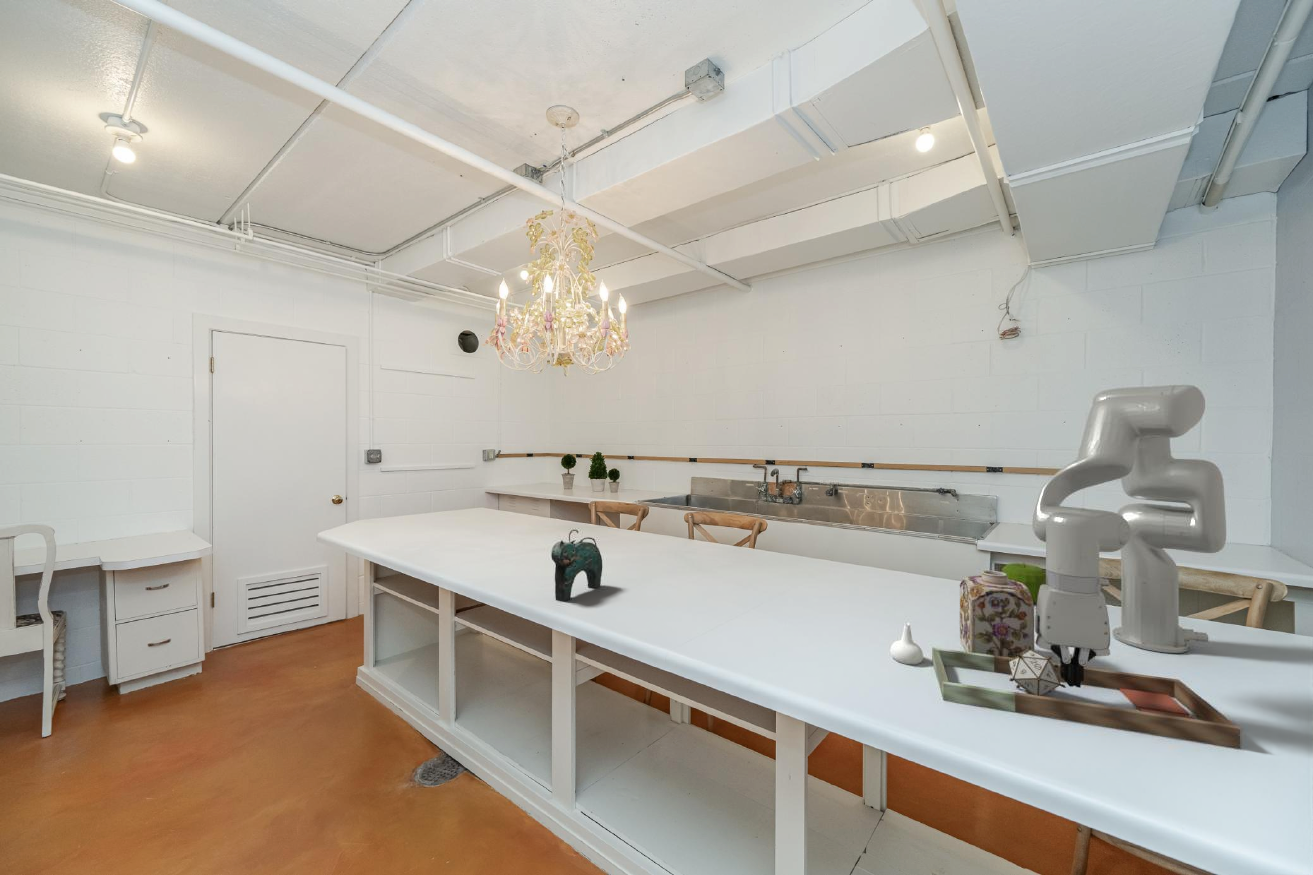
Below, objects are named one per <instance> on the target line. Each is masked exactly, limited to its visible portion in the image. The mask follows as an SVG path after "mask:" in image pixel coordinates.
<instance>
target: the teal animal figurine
mask: <svg viewBox="0 0 1313 875" xmlns="http://www.w3.org/2000/svg"><path fill="white" fill-rule="evenodd" d="M572 532H576V533H577V534H579V530H578V529H571V530H570V531H569V533H568V541H569V542H566V541H563V539H561V540H560V541H558V542H555V544H554V545H553V546H552V548H551V553H550V554H551V560H552V561H553V562H554V564H555V565H554V566H555V568H554V569H555V570H554V583H555V584H554V585H555V586H554V587H555V588H554V595H555V600H556V601H558V602H563V603H565V602H567V601H570V600H571V596H572V588H573V584H574V583H575V578H576V577H577V576H578V575H579V573H581V572H584V573H585V575H586V580H587V588H589V589H599V588H600V587H601V585H602V584H601V582H602V574H603V557H602V554H601V551H600V549H599V548H598V546H597V542H596V539H595V538H593V537H589V536H588V537H584V538H582V539H581V540H579V541H576V540H575V539H574V540H571V534H572ZM585 540H592V541H593V542H594V543H593V542H589V541H585Z"/></svg>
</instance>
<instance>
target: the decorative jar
mask: <svg viewBox="0 0 1313 875" xmlns="http://www.w3.org/2000/svg"><path fill="white" fill-rule="evenodd" d="M959 640H960V643H961V644H962V647H963V649H964V650H965V651H964V652H971V653H979V654H987V655H994V656H1002V657H1010V658H1015V657H1017V653H1019V654H1022V653H1024V652H1026V651H1027V650H1029V649H1028V646H1030V647H1031V650H1032V651H1034V652H1035V603H1033V598H1032V597H1031V595H1030V591H1029V589H1028V588H1027V587H1026V586H1025V585H1024V584H1023V583H1020V582H1017V581H1014V580H1010V579H1007V574H1005V573H1002V571H997V570H982V571H981V575H969V576H966V577H963V578H962V580H961V581H960V583H959Z"/></svg>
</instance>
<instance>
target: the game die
mask: <svg viewBox="0 0 1313 875" xmlns="http://www.w3.org/2000/svg"><path fill="white" fill-rule="evenodd" d="M1028 649H1029V650H1027V651H1026V652H1024V653H1022V654H1019V653H1017V657H1015V658H1013V659H1012V660H1010V661H1009V660H1007V659H1004V660H1005V662H1009V665H1010V669H1011V673H1012V675H1011V676H1012V677H1010V678H1009V680H1008V681H1009V682H1015V683H1016V684H1017V685H1016V686H1015V687H1016V689H1020V688H1022V689H1023V690H1025V691H1027V692H1028V693H1029V694H1031V695H1037V696H1045V694H1048V693H1049V694H1050V693H1051V692H1052V691H1053V690H1055V689H1057V688H1059V687H1061V688H1063V689H1065V688H1066V689H1067V687H1066V685H1065V684H1062V683H1061V681H1059V678H1058V675H1057V672H1056V669H1055V667H1058V665H1056V664H1057V663H1056V664H1055V665H1053V664H1052V663H1053V662H1052V660H1053V656H1048V657H1046V656H1043V655H1042V654H1040V653H1037V652H1036V651H1035V650H1034V651H1032V650H1031V647H1030V646H1028Z"/></svg>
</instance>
